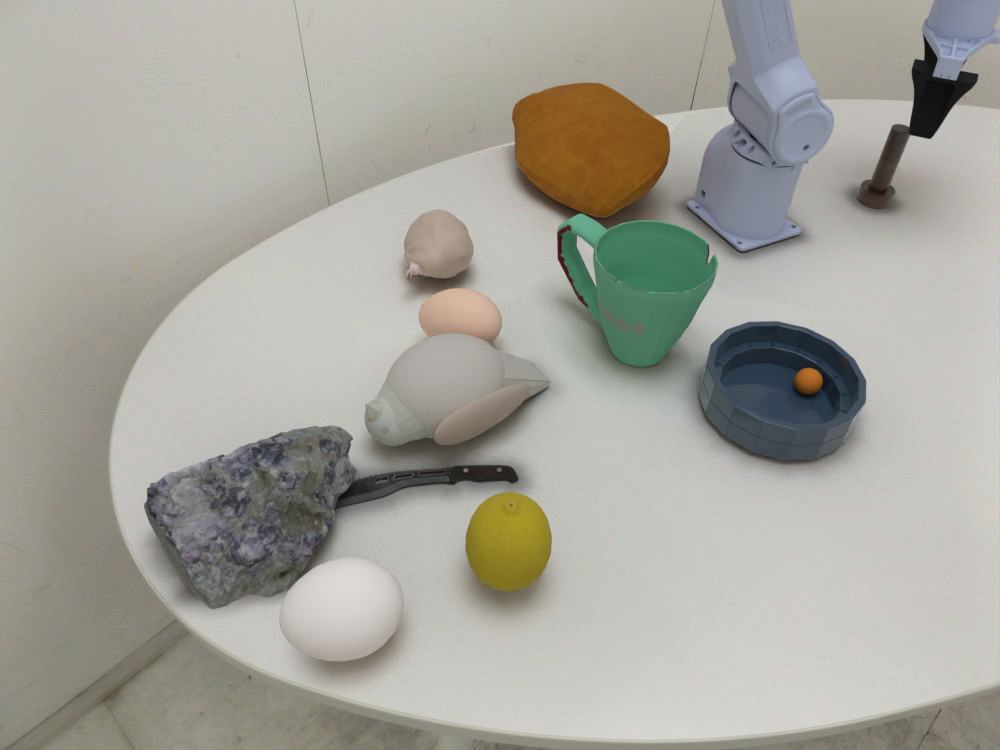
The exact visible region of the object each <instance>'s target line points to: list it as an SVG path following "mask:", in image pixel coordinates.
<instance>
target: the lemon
mask: <svg viewBox="0 0 1000 750" xmlns="http://www.w3.org/2000/svg"><path fill="white" fill-rule="evenodd" d="M552 544H553V535H552V531H551V526H550V522H549V519H548V517H547V515H546V513H545V511H544V510H543V508H542V507H541V506H540V505H539V504H538V503H537V501H535V500H534V499H533V498H530V497H529V496H528V495H525V494H522V493H519V492H513V491H508V492H507V491H506V492H505V491H504V492H500V493H496V494H493V495H491V496H489V497H488V498H486V499H485V500H483V501H482V502H481V503H479V505H478V506H477V508H476V509H475V511H474V512H473V514H472V515H471V517H470V520H469V522H468V526H467V529H466V533H465V555H466V558H467V561H468V564H469V567H470V569H471V570H472V572H473V573H474V575H475V576H476V577H477V579H478V580H480V581H481V582H482V584H484V585H486V586H487V587H490V588H491V589H493V590H497V591H501V592H515V591H520V590H523V589H524V588H527V587H529V586H531V585H532V584H533V583H535V582H536V581H537V580H538V579H539V578H540V577H541V576H542V574H543V573H544V571H545V570H546V568H547V565H548V563H549V560H550V558H551V555H552Z"/></svg>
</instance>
